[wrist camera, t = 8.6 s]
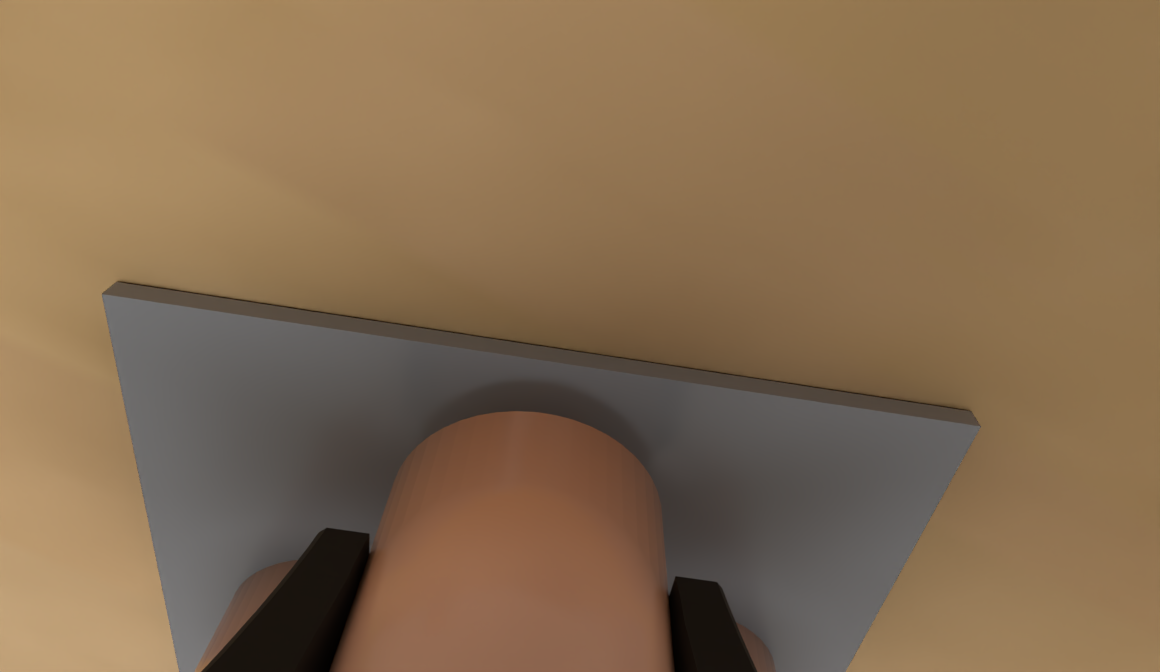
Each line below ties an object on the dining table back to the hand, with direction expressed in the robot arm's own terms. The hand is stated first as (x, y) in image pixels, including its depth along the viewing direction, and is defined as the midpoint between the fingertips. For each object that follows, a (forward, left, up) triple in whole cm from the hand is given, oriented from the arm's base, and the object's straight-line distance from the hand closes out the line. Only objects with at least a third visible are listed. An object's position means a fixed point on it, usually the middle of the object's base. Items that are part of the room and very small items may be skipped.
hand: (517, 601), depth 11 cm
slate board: (0, +3, -3) cm, 4 cm away
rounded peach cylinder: (0, 0, -2) cm, 2 cm away
